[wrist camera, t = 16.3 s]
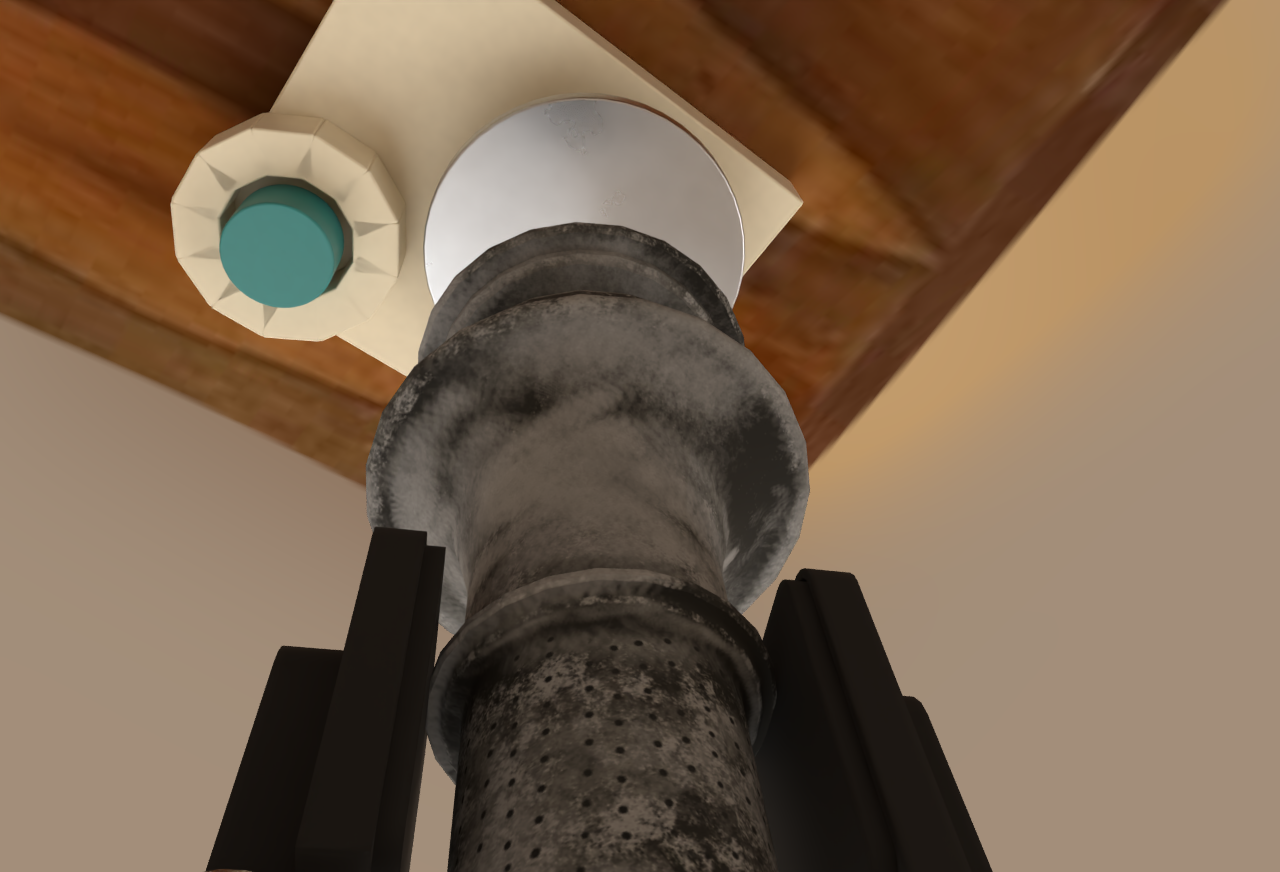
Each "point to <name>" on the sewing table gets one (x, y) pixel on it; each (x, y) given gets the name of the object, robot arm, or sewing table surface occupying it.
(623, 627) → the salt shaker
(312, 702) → the robot arm
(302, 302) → the button
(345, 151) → the scale
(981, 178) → the sewing table surface
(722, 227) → the weighing pan
